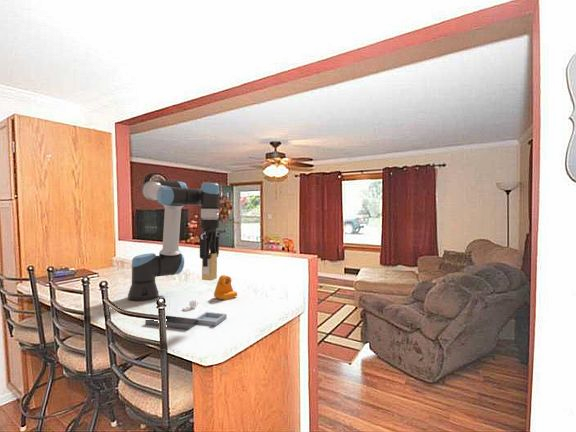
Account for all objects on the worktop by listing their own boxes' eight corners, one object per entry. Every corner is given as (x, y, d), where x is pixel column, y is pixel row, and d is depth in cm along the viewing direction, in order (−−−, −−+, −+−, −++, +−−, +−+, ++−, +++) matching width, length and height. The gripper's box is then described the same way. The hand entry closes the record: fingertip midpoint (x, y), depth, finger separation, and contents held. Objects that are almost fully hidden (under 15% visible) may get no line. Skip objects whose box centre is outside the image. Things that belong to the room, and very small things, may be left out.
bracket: (220, 301, 161) (220, 278, 161) (214, 297, 166) (214, 276, 166) (237, 297, 168) (238, 276, 168) (231, 294, 174) (231, 273, 173)
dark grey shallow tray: (145, 325, 125) (145, 319, 125) (156, 319, 131) (156, 314, 131) (188, 331, 120) (188, 324, 120) (197, 324, 126) (197, 318, 126)
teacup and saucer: (183, 313, 141) (183, 304, 141) (181, 308, 149) (181, 300, 149) (202, 311, 145) (202, 302, 145) (200, 306, 152) (200, 298, 152)
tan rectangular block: (201, 279, 129) (202, 253, 129) (207, 277, 133) (207, 252, 133) (211, 280, 127) (211, 254, 127) (216, 278, 132) (216, 253, 132)
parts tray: (194, 323, 127) (194, 319, 127) (206, 316, 137) (206, 311, 137) (215, 326, 125) (215, 321, 125) (226, 318, 134) (226, 314, 134)
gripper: (207, 219, 121) (206, 277, 121) (227, 218, 138) (226, 269, 138) (190, 219, 123) (190, 276, 123) (212, 218, 140) (211, 268, 140)
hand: (209, 272), depth 130 cm, fingers closed on tan rectangular block, 4 cm apart
